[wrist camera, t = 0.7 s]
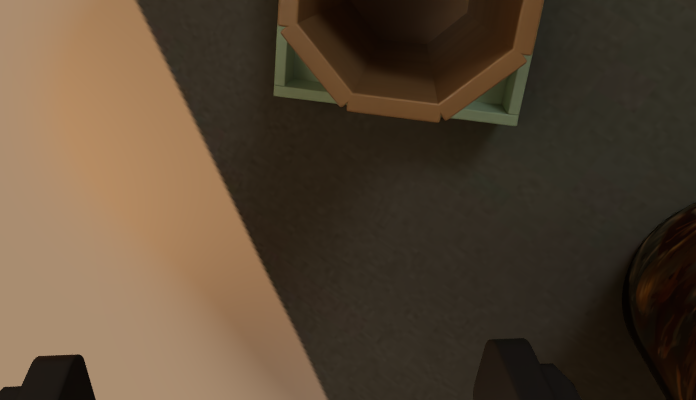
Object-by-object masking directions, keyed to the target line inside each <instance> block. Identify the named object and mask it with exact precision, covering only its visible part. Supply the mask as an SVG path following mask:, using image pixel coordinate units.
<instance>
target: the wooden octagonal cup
mask: <svg viewBox="0 0 696 400" xmlns="http://www.w3.org/2000/svg"><path fill="white" fill-rule="evenodd" d="M543 4H544V0H279V5H278V26H282V27H285V28H284V29H283V30H281V35H282V36H283V37H284V38H285V40H286V41H287V42H288V43H289V45H290V46H291V47H292V48H293V50H294V51H295V52H296V53H297V55H298V56H299V57H300V58H301V60H302V61H303V62H304V63H305V65H306V66H307V67H308V68H309V69H310V71H311V72H312V73H313V74H314V76H315V77H316V78H317V79H318V81H319V82H320V83H321V84H322V86H323V87H324V88H325V89H326V91H327V92H328V93H329V94H330V96H331V97H332V98H333V99H334V100H335V102H336V103H337V104H338V105H339V107H343V106H344V105H346V104H347V108H346V109H347V111H348V112H356V113H364V114H372V115H380V116H387V117H395V118H403V119H411V120H419V121H427V122H435V123H438V122H439V121H440V118H441V116H442V117H443V119H444V120H448V119H450V118H451V117H453V116H454V115H455V114H457V113H458V112H459V111H461V110H462V109H464V108H465V107H466V106H468V105H469V104H471V103H472V102H473V101H475V100H476V99H477V98H479V97H480V96H482V95H483V94H484V93H486V92H487V91H488V90H490V89H491V88H493V87H494V86H495V85H497V84H498V83H500V82H501V81H502V80H504V79H505V78H506V77H508V76H509V75H511V74H512V73H513V72H515V71H516V70H518V69H519V68H520V67H522V66H523V65H524V64H526V62H527V60H526V58H525V57H524V55H527V56H530V55H532V53H533V49H534V44H535V40H536V35H537V31H538V26H539V22H540V17H541V13H542V8H543Z"/></svg>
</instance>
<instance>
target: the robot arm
mask: <svg viewBox="0 0 696 400" xmlns="http://www.w3.org/2000/svg"><path fill="white" fill-rule="evenodd" d="M0 400H96V399H95V396H94V392H93V389H92V386H91V382H90V379H89V375H88V372H87V368H86V365H85V362H84V358H83V357H82V356H81V355H56V356H38V357H37V358H35V359H34V361H33V362H32V364H31V366H30V368H29V370H28V373H27V375H26V377H25V379H24V381H23V384H22V386H18V387H4V388H3V389H2V390H1V391H0ZM473 400H582V399H581V397H580V396H579V394H578V392H577V390H576V388H575V386H574V384H573V383H572V382H571V381H570V380H569V379H568V378H567V377H566V376H565V375H564V374H563V373H562V372H561V371H560V370H559V369H558V368H557V367H556V366H555V365H554V364H540V363H539V361H538V359H537V357H536V355H535V353H534V351H533V349H532V347H531V345H530V343H529V342H528V341H527V340H526V339H524V338H517V339H492V340H488V341H487V343H486V345H485V348H484V352H483V356H482V359H481V363H480V366H479V370H478V374H477V377H476V381H475V385H474V390H473Z"/></svg>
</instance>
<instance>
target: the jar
mask: <svg viewBox="0 0 696 400" xmlns="http://www.w3.org/2000/svg"><path fill="white" fill-rule="evenodd" d="M622 308H623V315H624V320H625V323H626V326H627V329H628V331H629V334H630V336H631V338H632V340H633V342H634V344H635V345H636V347H637V349H638V351H639V353H640V354H641V356H642V358H643V360H644V361H645V363H646V365H647V367H648V368H649V370H650V372H651V373H652V375H653V377H654V378H655V380H656V382H657V384H658V385H659V387H660V389H661V390H662V392H663V394H664V395H665V397H666V399H667V400H696V203H694V204H692V205H690V206H688V207H686V208H685V209H683V210H681V211H679V212H678V213H676V214H675V215H673V216H672V217H670V218H669V219H668V220H666V221H665V222H664V223H662V224H661V225H660V226H659V227H658V228H657V229H656V230H655V231H654V232H653V233H652V234H651V235H650V236H649V237H648V238H647V239H646V240H645V242H644V243H643V244H642V245H641V247H640V248H639V250H638V251H637V253H636V255H635V256H634V258H633V260H632V262H631V264H630V266H629V268H628V271H627V274H626V277H625V281H624V285H623V293H622Z"/></svg>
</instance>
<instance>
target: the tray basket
mask: <svg viewBox="0 0 696 400" xmlns="http://www.w3.org/2000/svg"><path fill="white" fill-rule="evenodd" d="M278 5H279V2H278ZM543 5H544V4H543ZM542 9H543V8H542ZM541 14H542V13H541ZM540 18H541V17H540ZM539 23H540V22H539ZM538 27H539V26H538ZM284 28H285V27H282V26H278V21H277V40H276V59H275V78H274V84H275V85H274V96H279V97H287V98H295V99H303V100H310V101H318V102H326V103H334V104H337V103H336V102H335V100H334V99H333V98H332V97H331V96H330V94H329V93H328V92H327V91H326V89H325V88H324V87H323V86H322V84H321V83H320V82H319V81H318V79H317V78H316V77H315V76H314V74H313V73H312V72H311V71H310V69H309V68H308V67H307V66H306V65H305V63H304V62H303V61H302V60H301V58H300V57H299V56H298V55H297V53H296V52H295V51H294V50H293V48H292V47H291V46H290V45H289V43H288V42H287V41H286V40H285V38H284V37H283V36H282V35H281V30H283V29H284ZM537 32H538V31H537ZM536 36H537V35H536ZM535 41H536V40H535ZM534 45H535V44H534ZM533 50H534V49H533ZM532 54H533V53H532ZM524 57H525V58H526V60H527V62H526V64H524V65H523V66H522V67H520V68H519V69H518V70H516V71H515V72H513V73H512V74H511V75H509V76H508V77H506V78H505V79H504V80H502V81H501V82H500V83H498V84H497V85H495V86H494V87H493V88H491V89H490V90H488V91H487V92H486V93H484V94H483V95H482V96H480V97H479V98H477V99H476V100H475V101H473V102H472V103H471V104H469V105H468V106H466V107H465V108H464V109H462V110H461V111H459V112H458V113H457V114H455V115H454V116H453V117H451V118H453V119H461V120H469V121H477V122H485V123H493V124H501V125H509V126H516V125H517V122H518V117H519V116H518V115H519V112H520V108H521V103H522V99H523V94H524V90H525V85H526V81H527V76H528V72H529V68H530V63H531V59H532V55H530V56H527V55H524ZM346 105H347V104H346ZM441 117H442V116H441Z"/></svg>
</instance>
